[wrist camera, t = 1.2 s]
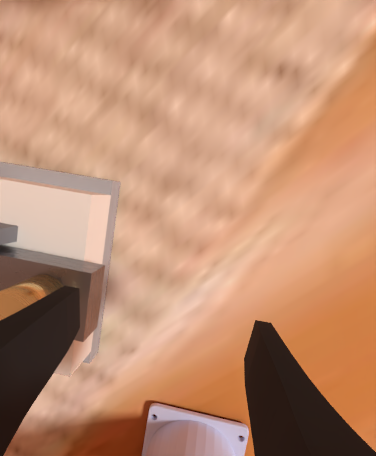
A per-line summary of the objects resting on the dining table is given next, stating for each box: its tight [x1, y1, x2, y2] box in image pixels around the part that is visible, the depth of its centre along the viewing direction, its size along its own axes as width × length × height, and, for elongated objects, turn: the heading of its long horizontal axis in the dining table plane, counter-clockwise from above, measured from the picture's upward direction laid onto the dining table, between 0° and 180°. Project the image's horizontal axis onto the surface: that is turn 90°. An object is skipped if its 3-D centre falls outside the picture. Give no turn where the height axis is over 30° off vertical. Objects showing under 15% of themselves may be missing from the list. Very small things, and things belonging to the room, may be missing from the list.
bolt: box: [0, 245, 105, 342], centre depth 15 cm, size 4×9×5 cm, turn 80°
